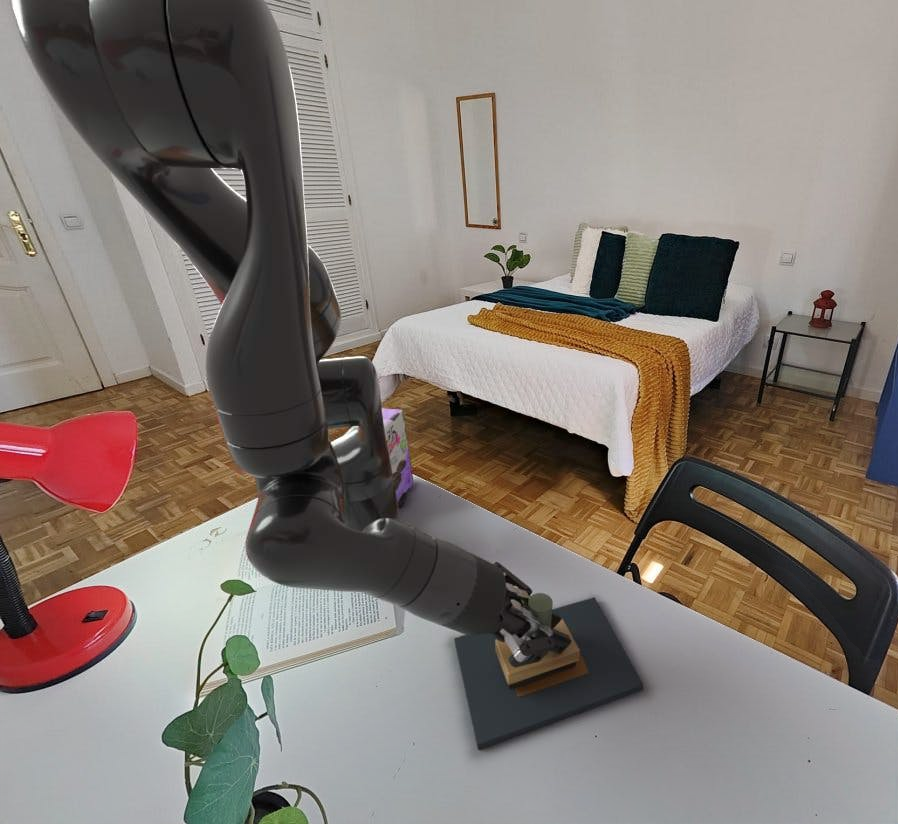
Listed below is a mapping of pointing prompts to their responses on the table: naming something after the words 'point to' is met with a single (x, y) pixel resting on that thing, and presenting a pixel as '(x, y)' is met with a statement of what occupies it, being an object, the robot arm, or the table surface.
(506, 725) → the desk mat
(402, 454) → the candy box
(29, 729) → the table surface
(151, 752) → the table surface
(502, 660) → the brush
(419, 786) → the table surface
